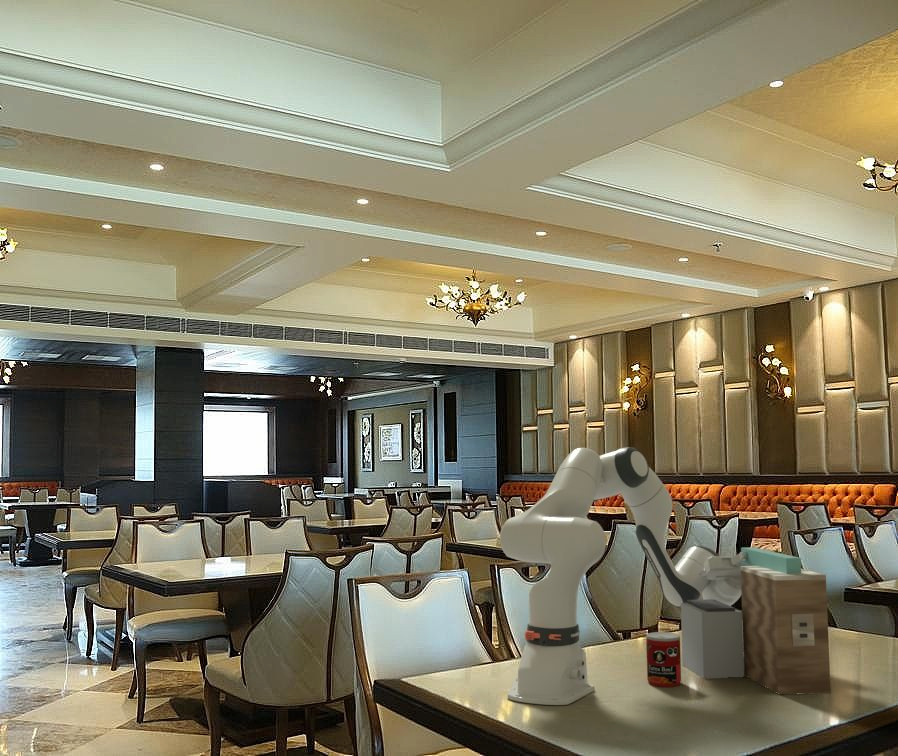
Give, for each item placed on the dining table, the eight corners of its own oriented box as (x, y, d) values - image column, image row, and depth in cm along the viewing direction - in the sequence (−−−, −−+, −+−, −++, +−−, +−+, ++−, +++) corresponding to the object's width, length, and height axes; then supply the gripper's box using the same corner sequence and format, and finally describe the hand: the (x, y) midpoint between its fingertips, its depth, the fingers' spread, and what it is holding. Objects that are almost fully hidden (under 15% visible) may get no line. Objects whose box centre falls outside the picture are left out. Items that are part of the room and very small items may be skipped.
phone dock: (682, 665, 226) (680, 599, 227) (720, 664, 227) (718, 598, 228) (703, 678, 212) (701, 609, 213) (744, 677, 213) (741, 608, 214)
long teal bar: (741, 561, 226) (741, 547, 227) (754, 561, 227) (754, 547, 227) (786, 573, 203) (786, 558, 203) (801, 573, 203) (800, 558, 203)
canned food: (643, 685, 206) (642, 636, 207) (652, 677, 213) (651, 630, 214) (676, 689, 203) (675, 639, 204) (684, 681, 210) (683, 633, 211)
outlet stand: (744, 675, 215) (740, 566, 217) (791, 673, 216) (787, 565, 218) (780, 695, 197) (776, 576, 199) (832, 693, 198) (827, 575, 200)
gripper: (694, 565, 235) (711, 543, 224) (768, 564, 237) (789, 542, 226) (699, 588, 232) (717, 566, 220) (774, 586, 234) (796, 565, 222)
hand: (754, 554), depth 223 cm, fingers open, 4 cm apart
